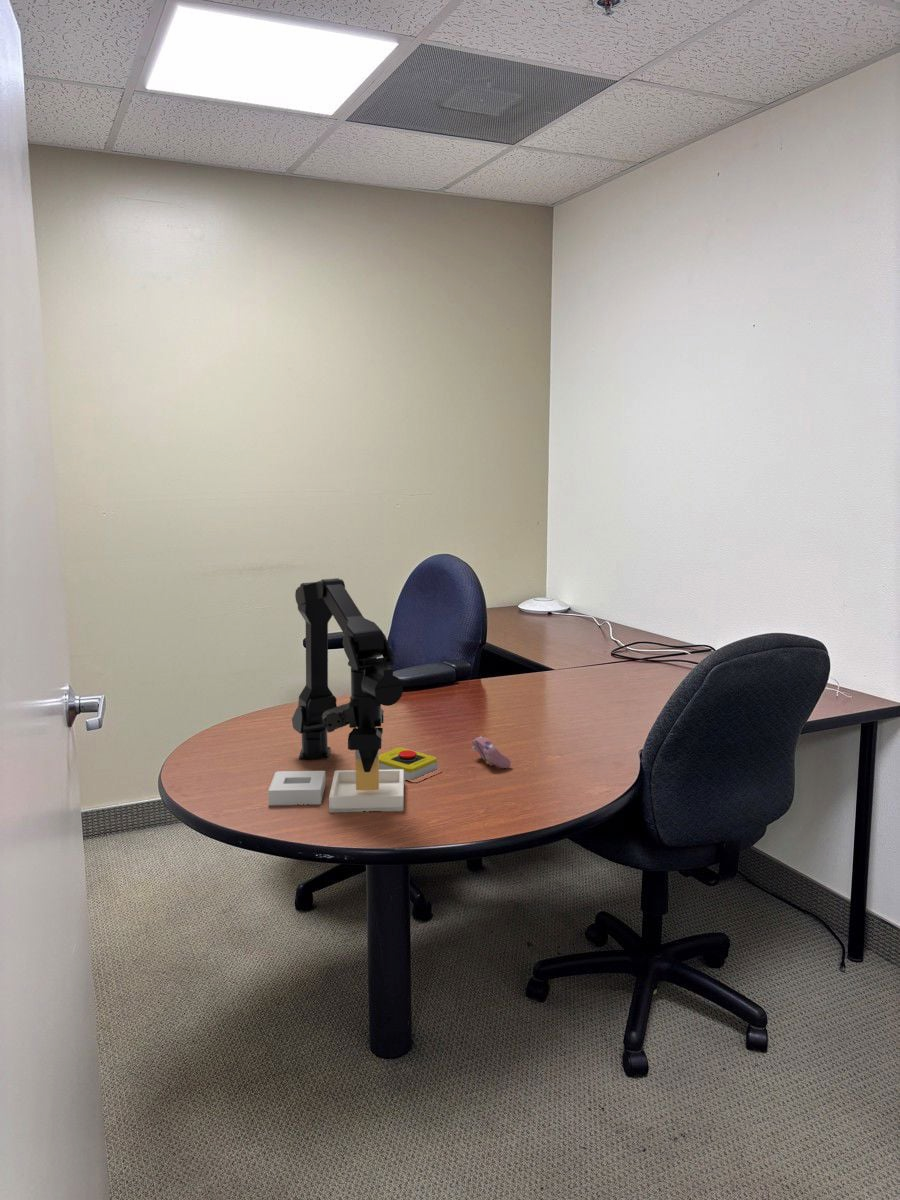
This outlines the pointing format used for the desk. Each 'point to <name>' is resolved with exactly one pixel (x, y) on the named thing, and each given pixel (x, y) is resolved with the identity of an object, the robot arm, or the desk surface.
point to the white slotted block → (297, 788)
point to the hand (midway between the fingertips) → (367, 769)
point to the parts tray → (367, 792)
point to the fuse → (367, 774)
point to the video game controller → (490, 752)
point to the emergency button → (408, 762)
